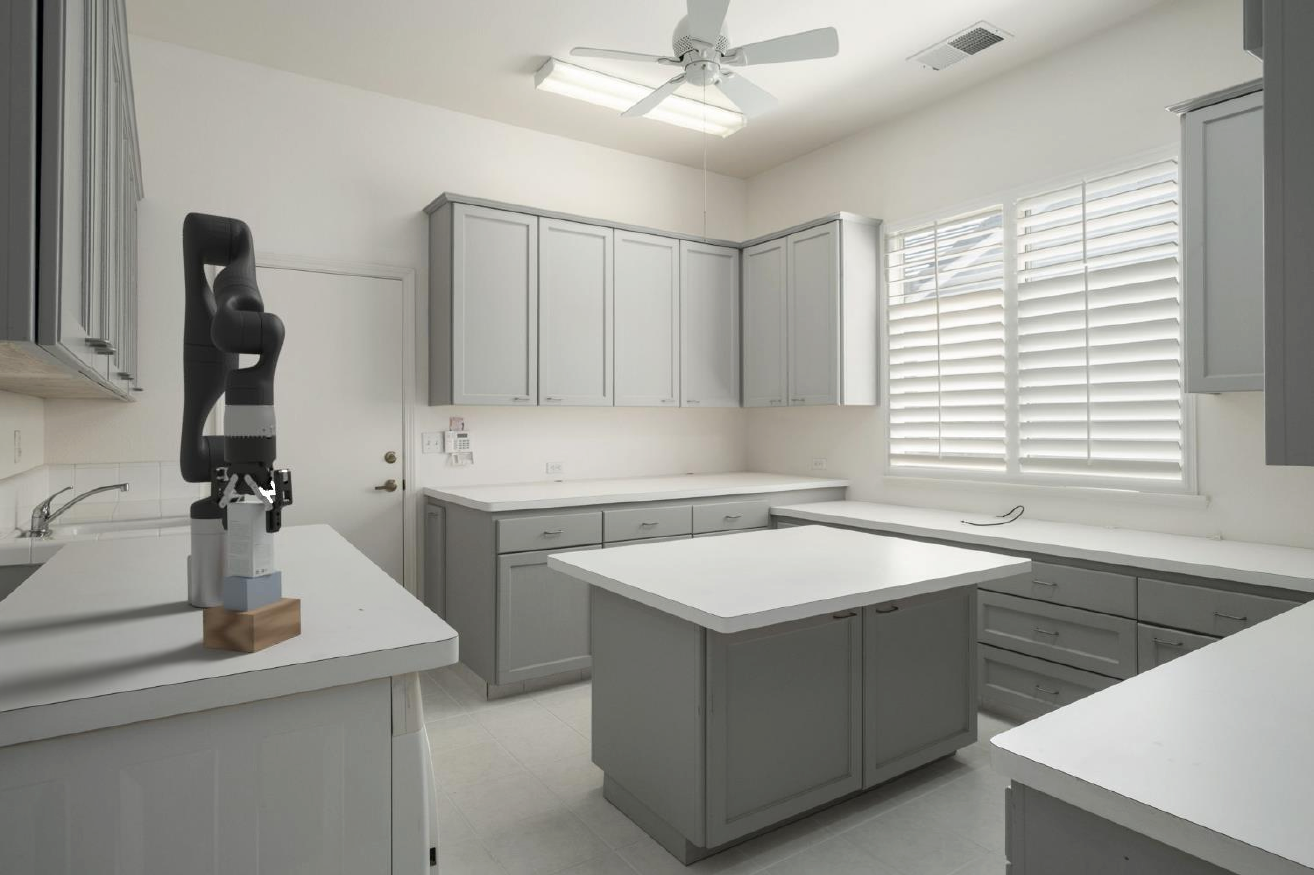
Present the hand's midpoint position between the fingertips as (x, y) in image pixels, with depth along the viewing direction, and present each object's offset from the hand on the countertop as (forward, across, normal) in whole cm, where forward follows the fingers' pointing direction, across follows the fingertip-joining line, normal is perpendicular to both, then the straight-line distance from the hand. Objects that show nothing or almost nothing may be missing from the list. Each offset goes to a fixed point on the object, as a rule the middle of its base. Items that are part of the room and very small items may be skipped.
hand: (251, 531), depth 120 cm
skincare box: (+7, 0, 0) cm, 7 cm away
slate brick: (+12, 0, 0) cm, 12 cm away
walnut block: (+18, 0, 0) cm, 18 cm away
